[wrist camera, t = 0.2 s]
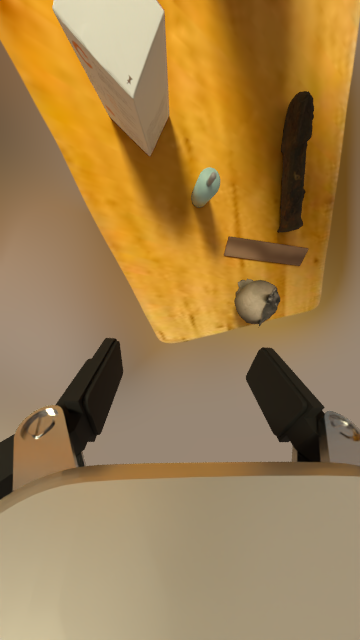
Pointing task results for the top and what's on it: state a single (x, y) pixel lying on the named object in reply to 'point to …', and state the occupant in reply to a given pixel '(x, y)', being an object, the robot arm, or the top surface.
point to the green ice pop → (205, 187)
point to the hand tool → (295, 159)
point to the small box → (123, 60)
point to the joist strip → (265, 251)
